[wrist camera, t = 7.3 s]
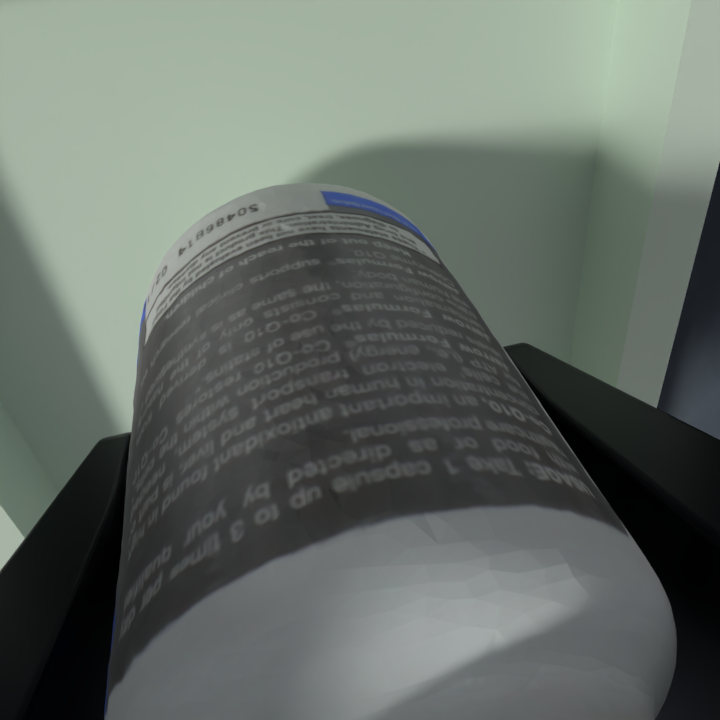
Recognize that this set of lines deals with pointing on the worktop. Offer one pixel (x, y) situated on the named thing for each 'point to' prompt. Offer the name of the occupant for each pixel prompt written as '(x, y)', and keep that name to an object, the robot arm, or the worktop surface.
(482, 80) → the tray
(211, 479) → the pill bottle
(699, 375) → the worktop surface
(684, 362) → the worktop surface
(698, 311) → the worktop surface
